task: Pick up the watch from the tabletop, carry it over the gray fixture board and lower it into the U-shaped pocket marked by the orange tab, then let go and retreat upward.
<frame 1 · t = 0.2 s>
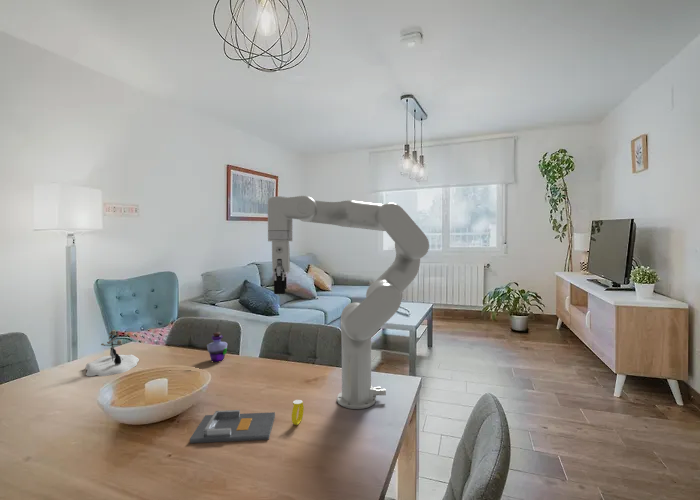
hand: (280, 291, 110), 36 cm above the table, fingers open, 9 cm apart
watch: (297, 423, 101), on the table
figurine: (112, 368, 144), on the table
gray fixture board: (235, 428, 97), on the table
potion bottle: (217, 360, 152), on the table
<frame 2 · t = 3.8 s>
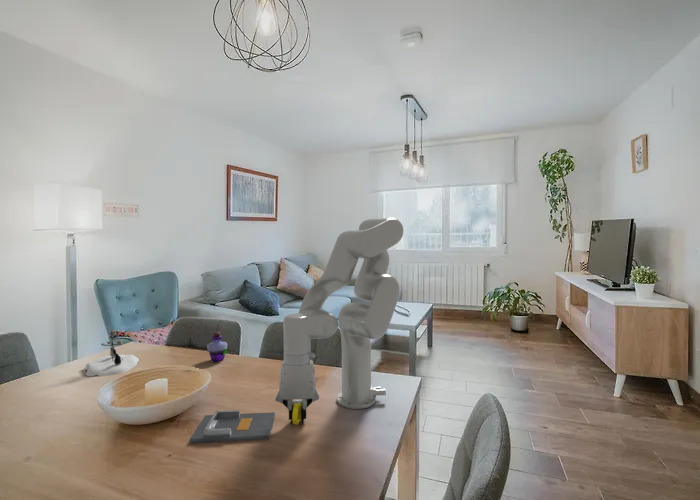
hand: (297, 421, 101), 0 cm above the table, fingers closed on watch, 2 cm apart
watch: (297, 423, 101), on the table, touching gripper
everything else where it was.
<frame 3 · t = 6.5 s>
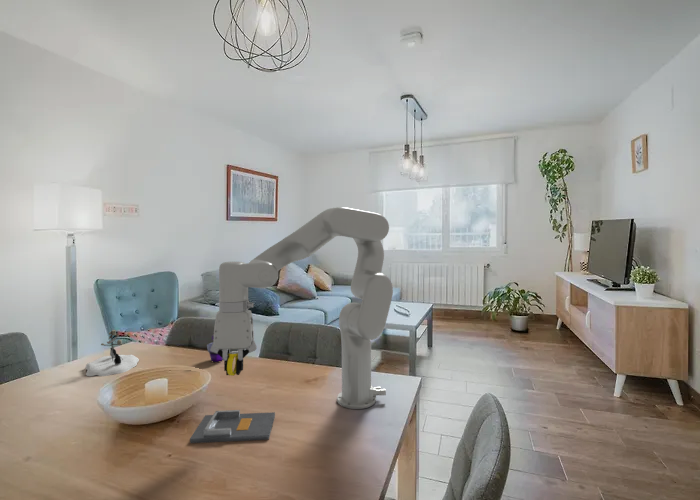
hand: (233, 372, 97), 16 cm above the table, fingers closed on watch
watch: (233, 374, 97), point 15 cm above the table, touching gripper
everything else where it was.
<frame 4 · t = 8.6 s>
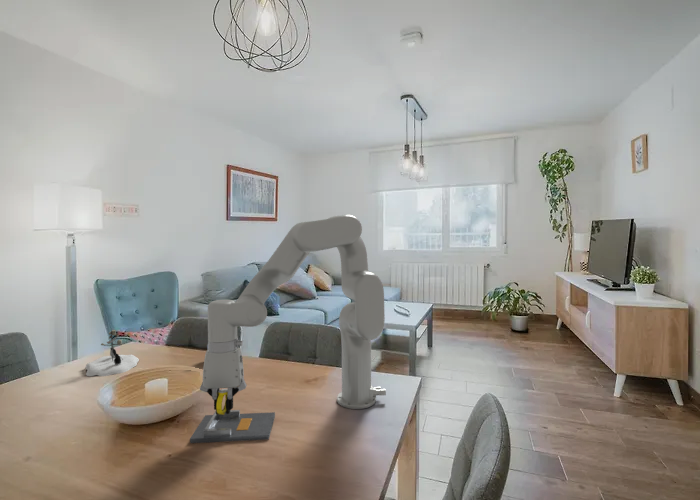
hand: (223, 411, 97), 5 cm above the table, fingers closed on watch
watch: (223, 413, 97), point 5 cm above the table, touching gripper
everything else where it was.
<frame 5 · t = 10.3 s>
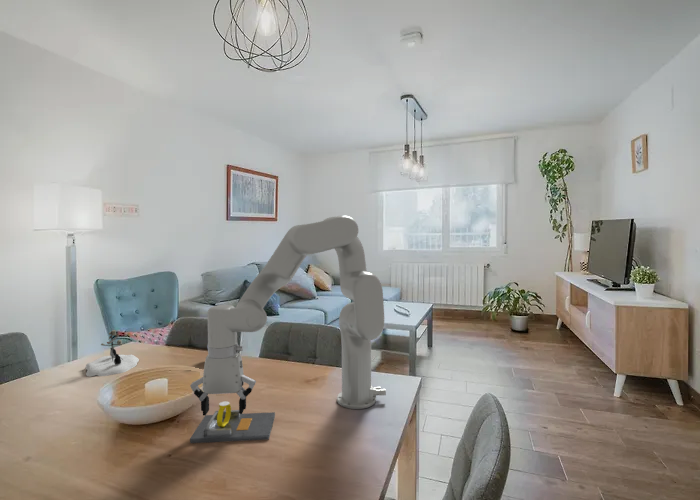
hand: (224, 412, 97), 5 cm above the table, fingers open, 9 cm apart
watch: (224, 425, 97), point 1 cm above the table, touching gray fixture board
everything else where it was.
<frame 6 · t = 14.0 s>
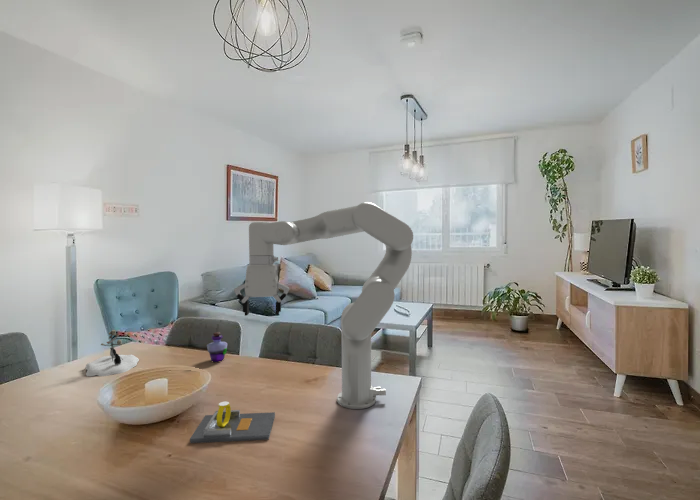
hand: (262, 314, 113), 28 cm above the table, fingers open, 9 cm apart
nothing on the table moved.
at the end: watch 0.1 cm from the target spot on the gray fixture board, point 1.0 cm above the gray fixture board's base; watch tilted 0°; the gripper is holding nothing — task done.
